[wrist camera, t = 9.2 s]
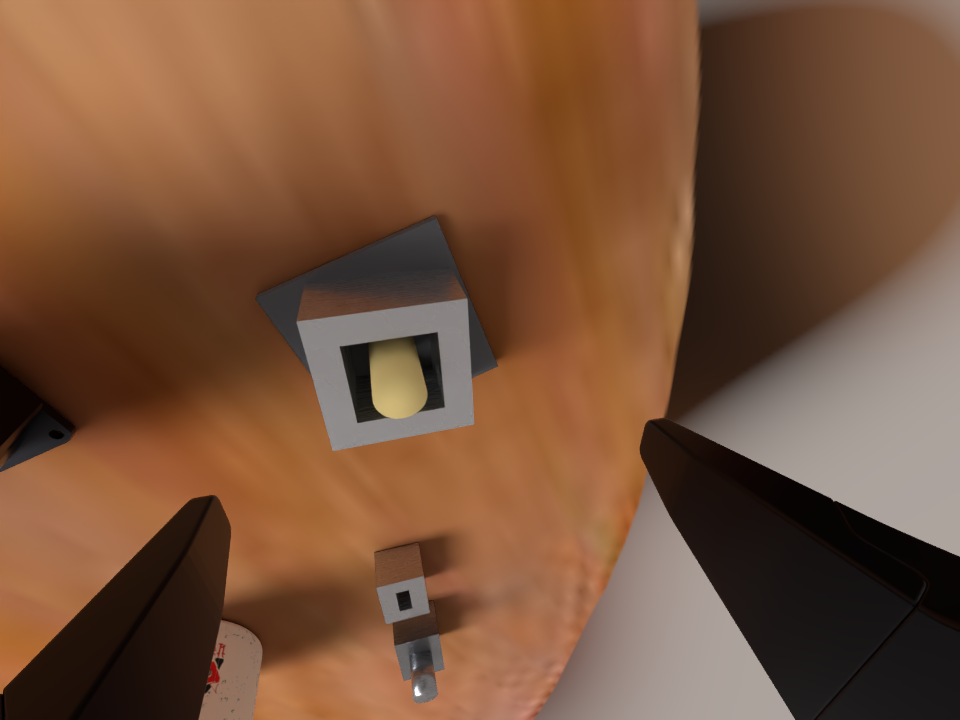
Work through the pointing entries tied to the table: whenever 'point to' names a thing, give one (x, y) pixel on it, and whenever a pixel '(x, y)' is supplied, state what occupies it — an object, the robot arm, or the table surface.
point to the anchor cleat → (419, 653)
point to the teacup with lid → (233, 675)
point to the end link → (380, 316)
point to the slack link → (401, 583)
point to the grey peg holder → (390, 359)
